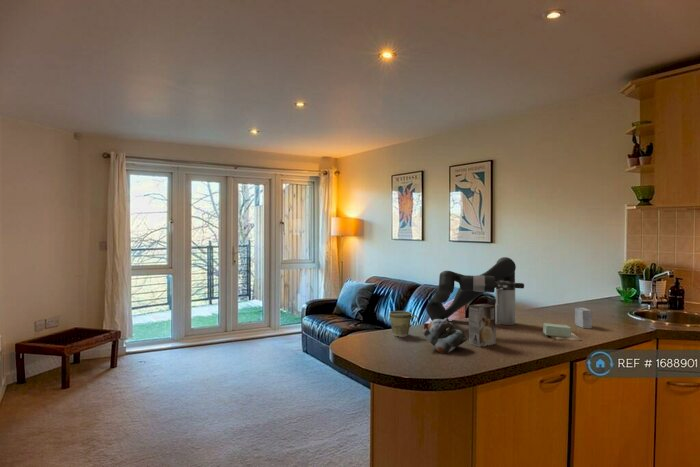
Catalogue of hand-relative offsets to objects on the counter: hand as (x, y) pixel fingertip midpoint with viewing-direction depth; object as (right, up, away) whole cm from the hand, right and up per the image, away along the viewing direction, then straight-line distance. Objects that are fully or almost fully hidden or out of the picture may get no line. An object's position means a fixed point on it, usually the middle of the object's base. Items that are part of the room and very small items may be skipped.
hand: (523, 285), depth 194 cm
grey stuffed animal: (-40, -23, -23) cm, 52 cm away
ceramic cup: (-54, -22, 0) cm, 58 cm away
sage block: (+9, -19, -1) cm, 21 cm away
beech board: (+17, -22, -3) cm, 28 cm away
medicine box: (+36, -22, +17) cm, 46 cm away
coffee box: (-23, -22, -15) cm, 36 cm away
